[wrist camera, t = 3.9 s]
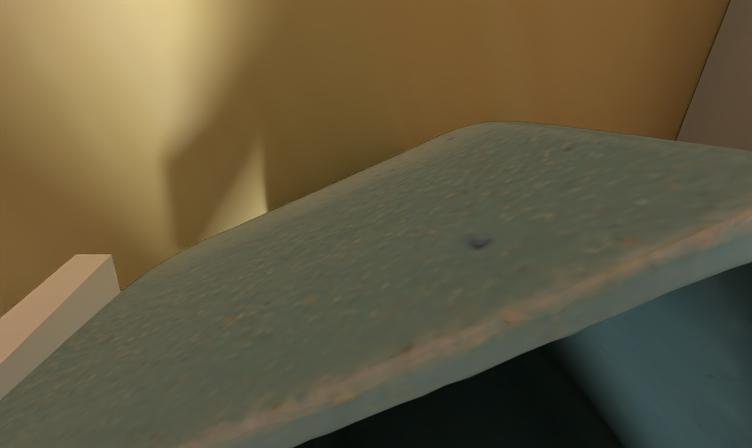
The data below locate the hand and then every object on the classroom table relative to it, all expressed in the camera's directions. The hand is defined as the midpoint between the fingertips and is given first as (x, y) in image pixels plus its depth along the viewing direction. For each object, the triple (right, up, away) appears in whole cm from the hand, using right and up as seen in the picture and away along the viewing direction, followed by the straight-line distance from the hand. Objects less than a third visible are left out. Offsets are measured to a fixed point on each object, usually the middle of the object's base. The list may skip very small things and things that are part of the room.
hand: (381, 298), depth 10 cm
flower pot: (0, +1, +2) cm, 2 cm away
